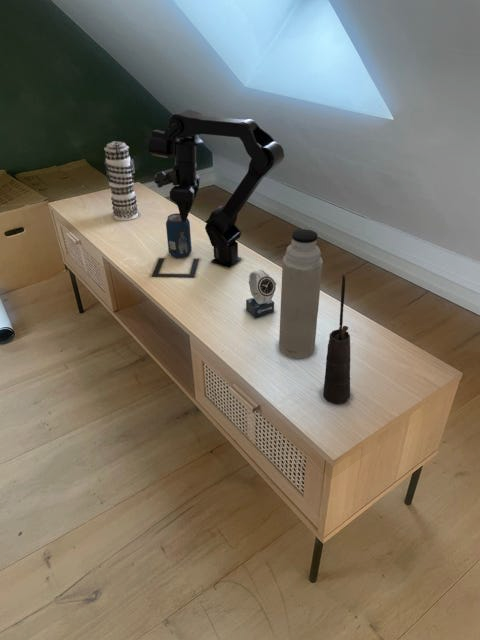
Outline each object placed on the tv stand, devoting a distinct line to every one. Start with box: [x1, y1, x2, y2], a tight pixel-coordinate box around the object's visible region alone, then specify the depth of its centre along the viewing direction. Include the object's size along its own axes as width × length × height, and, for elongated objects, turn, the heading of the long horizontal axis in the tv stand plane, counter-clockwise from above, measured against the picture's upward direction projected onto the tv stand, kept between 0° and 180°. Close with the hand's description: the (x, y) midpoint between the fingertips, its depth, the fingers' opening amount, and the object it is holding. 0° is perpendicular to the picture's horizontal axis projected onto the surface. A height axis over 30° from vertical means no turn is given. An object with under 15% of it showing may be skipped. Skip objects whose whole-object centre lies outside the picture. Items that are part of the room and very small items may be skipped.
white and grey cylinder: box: [103, 140, 139, 221], centre depth 170 cm, size 9×9×25 cm
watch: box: [245, 269, 277, 319], centre depth 122 cm, size 6×8×11 cm
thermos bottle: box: [278, 228, 324, 360], centre depth 105 cm, size 8×8×28 cm
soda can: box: [165, 212, 192, 259], centre depth 148 cm, size 7×7×12 cm
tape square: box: [151, 257, 200, 278], centre depth 145 cm, size 11×12×1 cm
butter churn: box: [322, 274, 351, 405], centre depth 93 cm, size 9×10×28 cm
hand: (186, 216), depth 144 cm, fingers open, 9 cm apart
